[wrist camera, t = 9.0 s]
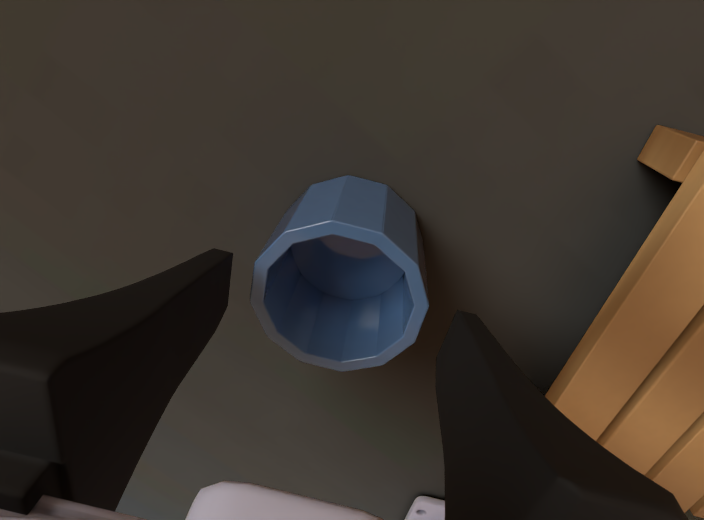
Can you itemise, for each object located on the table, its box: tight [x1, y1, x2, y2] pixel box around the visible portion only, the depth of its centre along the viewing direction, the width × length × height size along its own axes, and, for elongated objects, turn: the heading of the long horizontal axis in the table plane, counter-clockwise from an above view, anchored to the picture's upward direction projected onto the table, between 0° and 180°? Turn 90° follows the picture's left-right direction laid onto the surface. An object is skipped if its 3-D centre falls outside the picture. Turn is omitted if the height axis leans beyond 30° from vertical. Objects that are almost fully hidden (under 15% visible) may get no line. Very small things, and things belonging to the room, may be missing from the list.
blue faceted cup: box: [250, 175, 429, 372], centre depth 15 cm, size 6×6×4 cm
